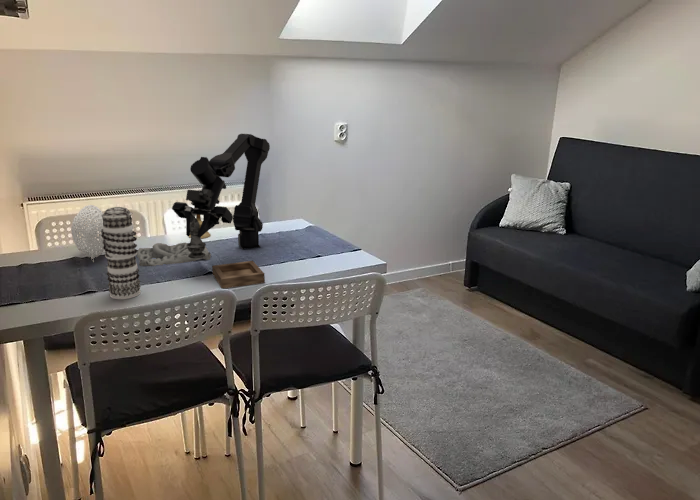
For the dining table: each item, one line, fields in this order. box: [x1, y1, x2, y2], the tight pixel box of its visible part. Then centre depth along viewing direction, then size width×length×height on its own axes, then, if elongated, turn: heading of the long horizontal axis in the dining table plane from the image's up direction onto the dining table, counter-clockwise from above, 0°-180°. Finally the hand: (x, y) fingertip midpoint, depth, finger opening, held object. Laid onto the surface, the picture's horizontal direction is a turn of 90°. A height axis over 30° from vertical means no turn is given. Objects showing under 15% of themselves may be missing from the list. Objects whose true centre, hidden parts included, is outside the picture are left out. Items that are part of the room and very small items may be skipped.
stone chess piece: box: [186, 217, 207, 258], centre depth 184 cm, size 6×6×12 cm
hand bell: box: [187, 206, 212, 240], centre depth 227 cm, size 8×8×16 cm
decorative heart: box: [70, 204, 105, 263], centre depth 201 cm, size 18×11×17 cm, turn 13°
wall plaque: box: [136, 239, 212, 267], centre depth 207 cm, size 24×19×4 cm
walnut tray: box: [211, 260, 266, 289], centre depth 186 cm, size 13×13×3 cm
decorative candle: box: [100, 206, 142, 300], centre depth 170 cm, size 9×9×25 cm
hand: (193, 236), depth 183 cm, fingers closed on stone chess piece, 3 cm apart
